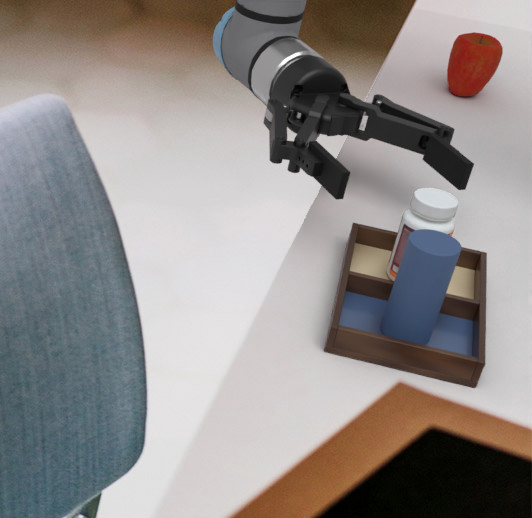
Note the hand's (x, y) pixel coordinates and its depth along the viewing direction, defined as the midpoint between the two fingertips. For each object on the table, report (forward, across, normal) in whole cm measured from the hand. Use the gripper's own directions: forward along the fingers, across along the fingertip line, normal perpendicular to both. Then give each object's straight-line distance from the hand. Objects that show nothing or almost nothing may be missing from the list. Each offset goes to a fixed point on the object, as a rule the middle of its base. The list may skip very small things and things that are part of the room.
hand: (406, 181), depth 111 cm
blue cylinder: (+13, +6, -7) cm, 16 cm away
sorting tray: (+9, +3, -8) cm, 13 cm away
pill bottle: (+5, 0, -8) cm, 9 cm away
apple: (-36, -34, -8) cm, 50 cm away
